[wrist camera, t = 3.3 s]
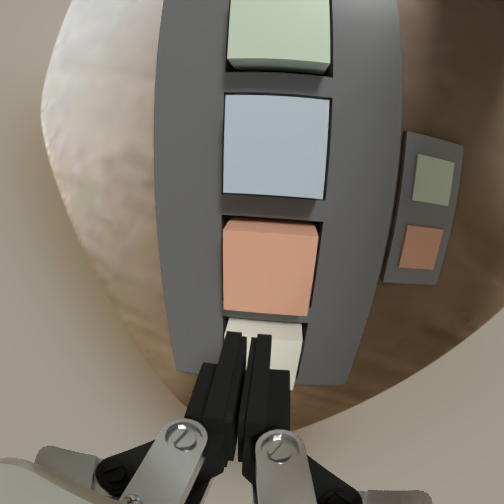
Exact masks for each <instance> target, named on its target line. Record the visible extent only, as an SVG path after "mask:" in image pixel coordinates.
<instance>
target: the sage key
mask: <svg viewBox="0 0 504 504" xmlns="http://www.w3.org/2000/svg"><path fill="white" fill-rule="evenodd" d="M227 59H228V60H229V62H230V63H231V64H232V66H233V67H234V68H235V70H265V71H287V72H301V73H312V74H321V75H323V74H324V72H325V71H326V69H327V68H328V66H329V64H330V12H329V0H231V6H230V20H229V36H228V54H227Z"/></svg>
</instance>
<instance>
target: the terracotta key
mask: <svg viewBox="0 0 504 504" xmlns="http://www.w3.org/2000/svg"><path fill="white" fill-rule="evenodd" d="M318 238H319V237H318V234H317V230H316V227H315V224H314V222H309V221H296V220H283V219H269V218H253V217H237V216H232V217H231V218H230V220H229V221H228V223H227V224H226V226H225V228H224V229H223V296H224V309H225V310H234V311H245V312H256V313H268V314H281V315H295V316H307V314H308V308H309V302H310V295H311V289H312V282H313V275H314V268H315V261H316V253H317V246H318Z"/></svg>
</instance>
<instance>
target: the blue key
mask: <svg viewBox="0 0 504 504" xmlns="http://www.w3.org/2000/svg"><path fill="white" fill-rule="evenodd" d="M328 122H329V100H322V99H312V98H301V97H288V96H269V95H226V97H225V127H224V171H223V193H243V194H261V195H277V196H291V197H304V198H315V199H323V191H324V180H325V168H326V155H327V140H328Z"/></svg>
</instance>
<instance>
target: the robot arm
mask: <svg viewBox="0 0 504 504" xmlns="http://www.w3.org/2000/svg"><path fill="white" fill-rule="evenodd" d="M271 344H272V335H268V334H257V337H251V343H250V349H249V356H248V362H247V368H246V355H247V337H246V336H242V332H233V331H227V332H226V336H225V339H224V343H223V347H222V350H221V354H220V357H219V361H218V364H214V363H206V362H203V364H202V366H201V369H200V372H199V375H198V378H197V381H196V384H195V387H194V390H193V393H192V395H191V398H190V401H189V404H188V407H187V411H186V414H185V417H184V418H182V419H176V420H172V421H170V422H169V423H167V424H166V425H165V426H164V427H163V428H162V430H161V432H160V433H159V435H158V437H157V438H156V440H153V441H151V442H148V443H146V444H143V445H141V446H138V447H136V448H133V449H130V450H128V451H125V452H122V453H119V454H116V455H114V456H111V457H108V458H106V459H100V458H97V456H94V455H89V454H84V453H79V452H75V451H70V450H66V449H62V448H58V447H55V446H46V447H43V448H42V449H41V450H39V452H38V454H37V456H36V459H35V463H33V462H30V461H26V460H23V459H18V458H1V459H0V504H204V502H205V499H206V497H207V494H208V492H209V489H210V487H211V485H212V483H213V480H214V477H215V476H217V475H219V474H221V473H223V471H224V467H227V463H228V461H233V460H234V455H235V449H236V443H237V437H238V461H239V462H242V475H243V476H244V477H245V478H246V479H247V480H248V481H249V482H250V483H251V488H252V502H253V504H432V500H431V497H430V496H429V494H427V493H425V492H424V491H419V490H412V491H379V490H368V491H367V492H363V491H356V490H355V489H354V488H352V487H351V486H349V485H348V484H346V483H345V482H344V481H342V480H341V479H339V478H338V477H336V476H335V475H334V474H332V473H331V472H329V471H328V470H326V469H325V468H324V467H322V466H321V465H320V464H318V463H317V462H316V461H314V460H313V459H312V458H310V457H309V456H308V455H307V454H306V449H305V445H304V443H303V441H302V439H301V438H300V437H299V436H298V435H296V434H295V433H293V432H291V431H290V370H277V369H270V360H271Z"/></svg>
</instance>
